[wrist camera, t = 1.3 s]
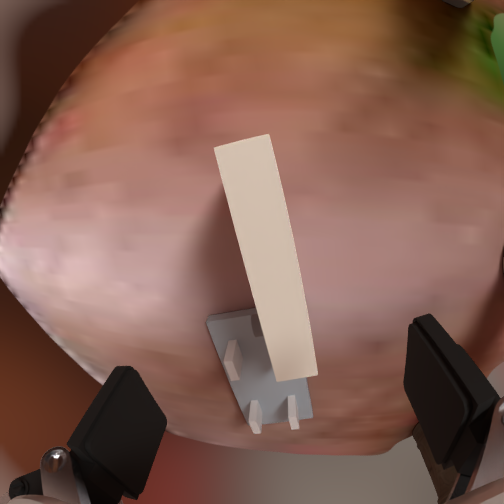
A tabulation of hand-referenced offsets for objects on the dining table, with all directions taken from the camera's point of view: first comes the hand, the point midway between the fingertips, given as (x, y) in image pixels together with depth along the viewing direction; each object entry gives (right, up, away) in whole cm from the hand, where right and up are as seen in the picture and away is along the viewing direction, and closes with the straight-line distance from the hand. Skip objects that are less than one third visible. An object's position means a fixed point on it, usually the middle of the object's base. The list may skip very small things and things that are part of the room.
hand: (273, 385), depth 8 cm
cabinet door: (+2, +7, +21) cm, 23 cm away
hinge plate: (+1, -12, +27) cm, 30 cm away
